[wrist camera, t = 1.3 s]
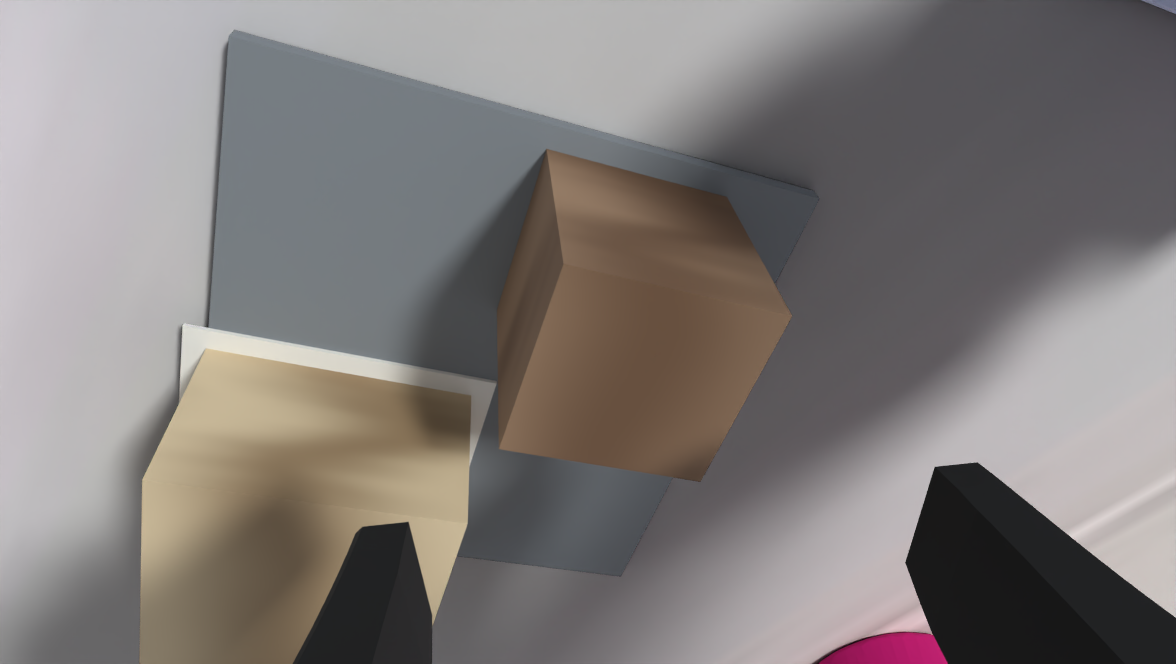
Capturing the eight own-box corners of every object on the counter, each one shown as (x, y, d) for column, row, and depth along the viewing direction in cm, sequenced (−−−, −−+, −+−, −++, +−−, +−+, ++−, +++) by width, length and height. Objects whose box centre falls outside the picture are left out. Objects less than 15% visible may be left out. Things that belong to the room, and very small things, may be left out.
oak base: (471, 395, 19) (467, 523, 16) (422, 554, 22) (411, 688, 19) (205, 348, 18) (142, 479, 14) (193, 526, 21) (139, 667, 18)
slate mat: (813, 190, 17) (821, 200, 17) (613, 575, 25) (615, 589, 24) (204, 21, 14) (197, 29, 14) (178, 521, 21) (172, 536, 21)
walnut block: (726, 197, 17) (792, 315, 13) (659, 344, 19) (700, 481, 15) (546, 148, 16) (563, 263, 12) (497, 309, 18) (498, 449, 14)
